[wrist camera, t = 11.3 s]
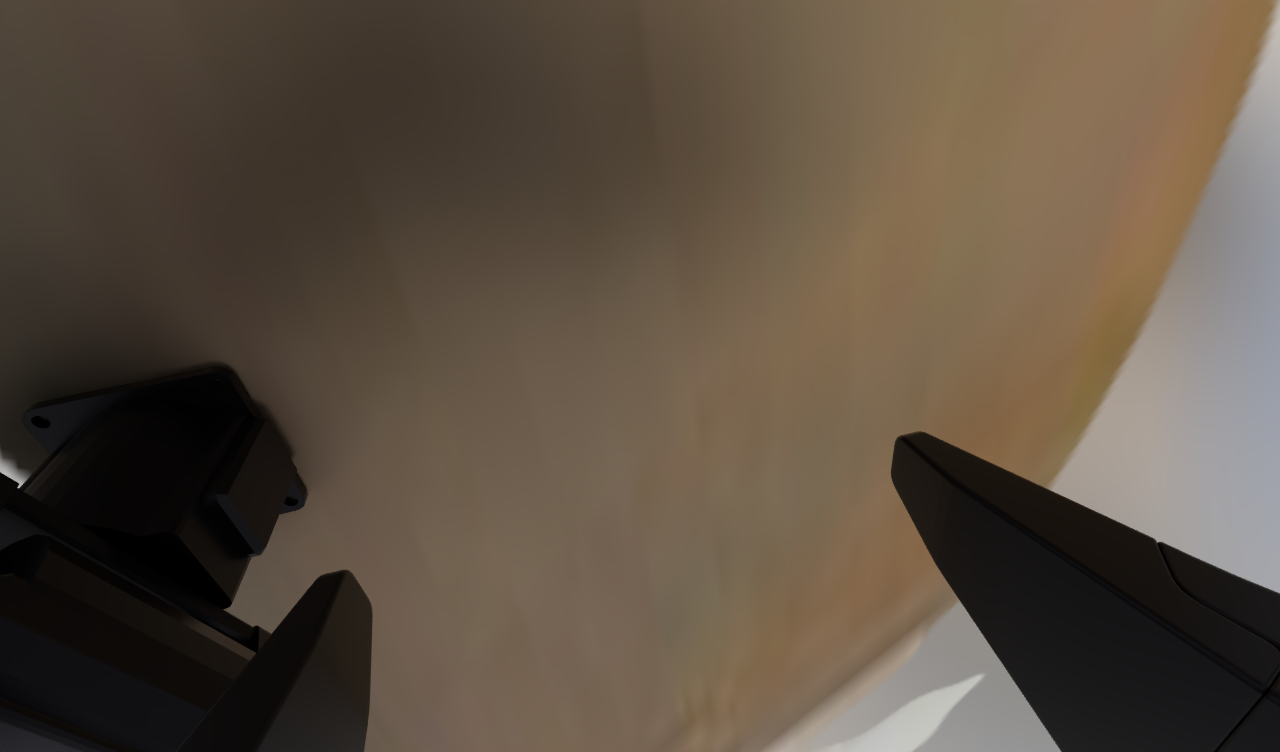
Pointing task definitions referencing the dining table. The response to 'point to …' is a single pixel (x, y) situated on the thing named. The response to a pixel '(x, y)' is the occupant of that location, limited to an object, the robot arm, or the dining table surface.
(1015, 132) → the dining table surface
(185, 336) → the dining table surface
